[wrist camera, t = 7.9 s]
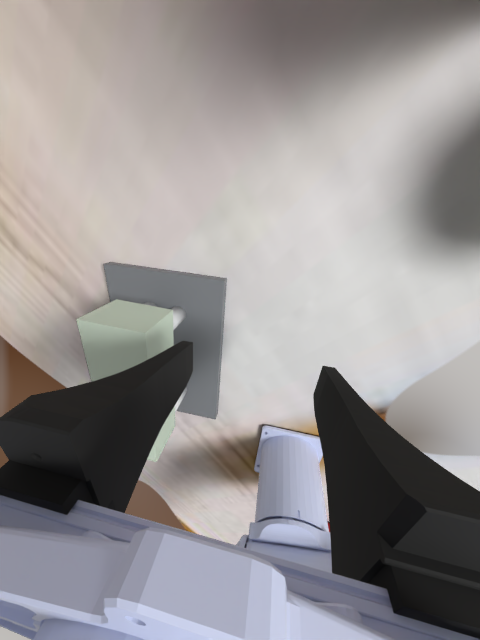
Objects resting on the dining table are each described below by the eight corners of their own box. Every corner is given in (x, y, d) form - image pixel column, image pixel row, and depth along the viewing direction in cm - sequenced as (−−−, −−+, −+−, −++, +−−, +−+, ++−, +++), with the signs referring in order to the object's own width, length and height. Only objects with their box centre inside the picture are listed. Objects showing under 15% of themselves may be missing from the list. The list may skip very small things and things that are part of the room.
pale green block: (116, 299, 18) (76, 319, 15) (172, 309, 18) (145, 333, 14) (133, 415, 24) (107, 449, 21) (175, 425, 24) (156, 462, 20)
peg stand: (217, 413, 28) (206, 445, 24) (132, 394, 30) (109, 422, 26) (226, 278, 20) (213, 293, 16) (110, 261, 22) (72, 271, 18)
